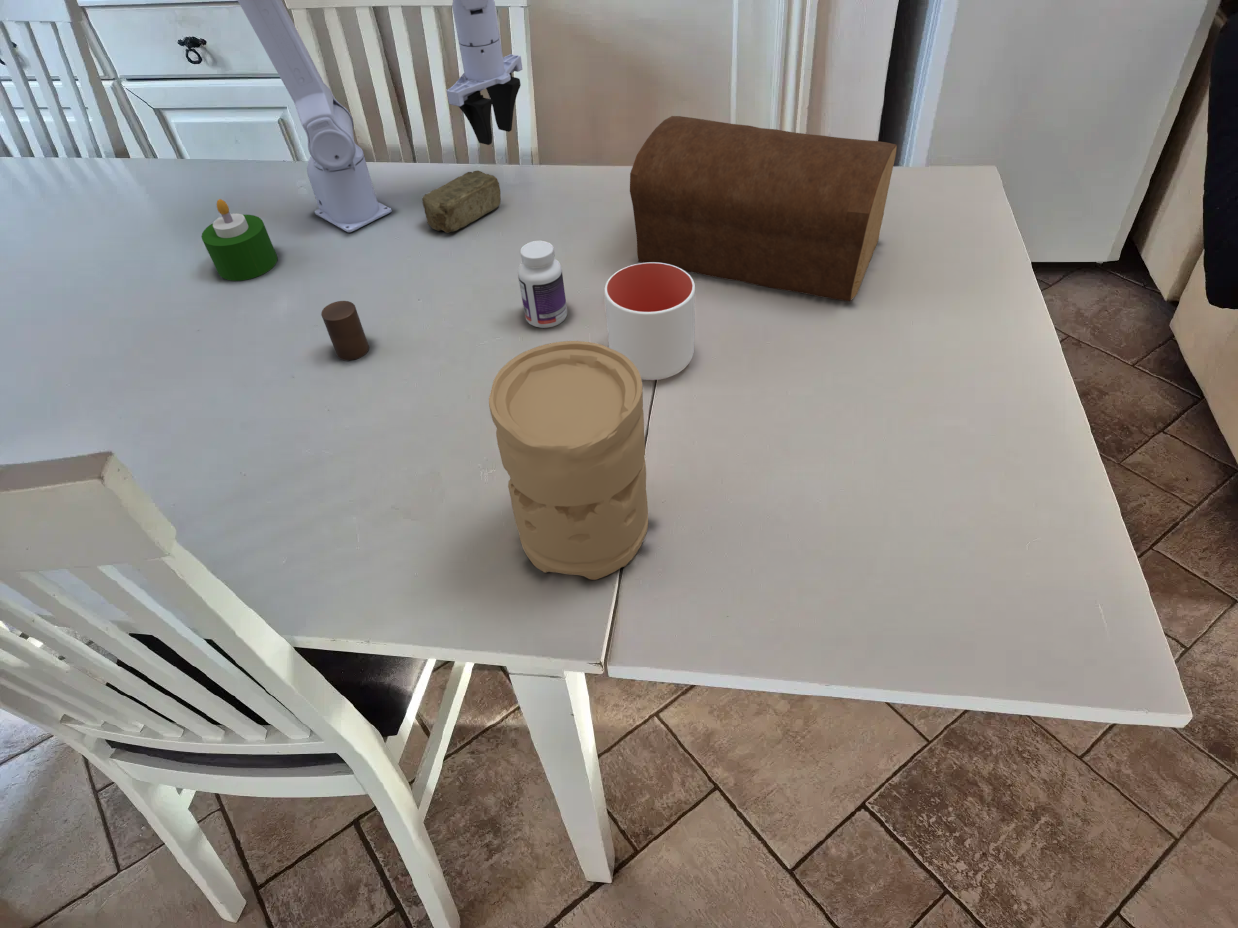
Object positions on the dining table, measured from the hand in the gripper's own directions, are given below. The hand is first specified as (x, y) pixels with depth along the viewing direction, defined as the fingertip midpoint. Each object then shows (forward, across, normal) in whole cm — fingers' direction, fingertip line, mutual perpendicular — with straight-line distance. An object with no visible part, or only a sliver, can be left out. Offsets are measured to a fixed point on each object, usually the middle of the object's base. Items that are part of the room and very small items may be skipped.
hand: (495, 136), depth 121 cm
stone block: (+9, -10, 0) cm, 13 cm away
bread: (+9, +1, -43) cm, 44 cm away
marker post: (+8, -42, -8) cm, 43 cm away
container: (+9, -51, -49) cm, 72 cm away
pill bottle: (+9, -24, -26) cm, 37 cm away
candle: (+9, -34, +20) cm, 41 cm away
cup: (+9, -25, -42) cm, 50 cm away
